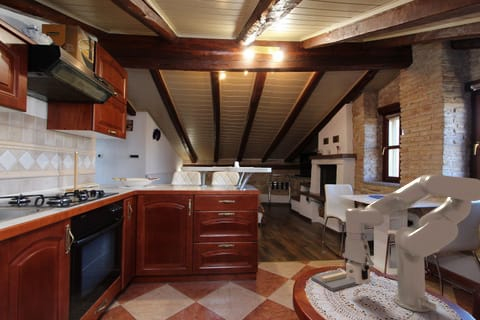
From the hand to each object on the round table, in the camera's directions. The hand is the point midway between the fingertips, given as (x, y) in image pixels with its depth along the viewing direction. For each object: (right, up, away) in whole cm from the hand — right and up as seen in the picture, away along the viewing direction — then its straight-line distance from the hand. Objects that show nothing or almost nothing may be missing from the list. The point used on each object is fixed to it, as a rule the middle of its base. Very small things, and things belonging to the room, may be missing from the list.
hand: (358, 276), depth 107 cm
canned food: (+9, -10, +23) cm, 27 cm away
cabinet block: (0, -2, 0) cm, 2 cm away
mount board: (-5, -9, +14) cm, 17 cm away
